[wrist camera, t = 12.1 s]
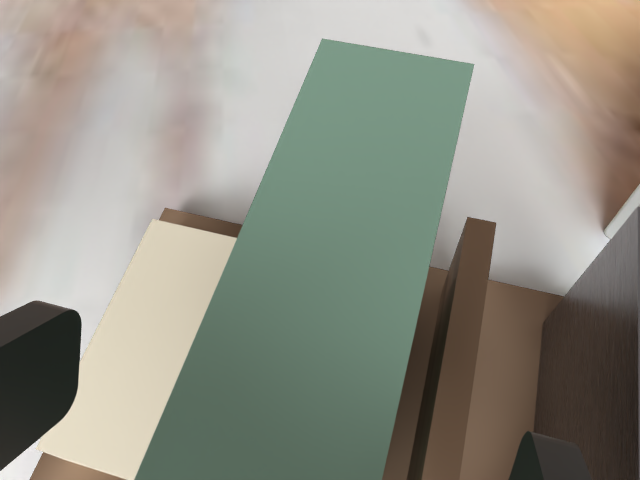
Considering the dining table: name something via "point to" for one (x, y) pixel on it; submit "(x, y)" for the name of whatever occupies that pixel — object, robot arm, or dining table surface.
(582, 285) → the bookend
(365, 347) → the book
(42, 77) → the dining table surface
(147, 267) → the toppled book
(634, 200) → the small box
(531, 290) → the book rack
